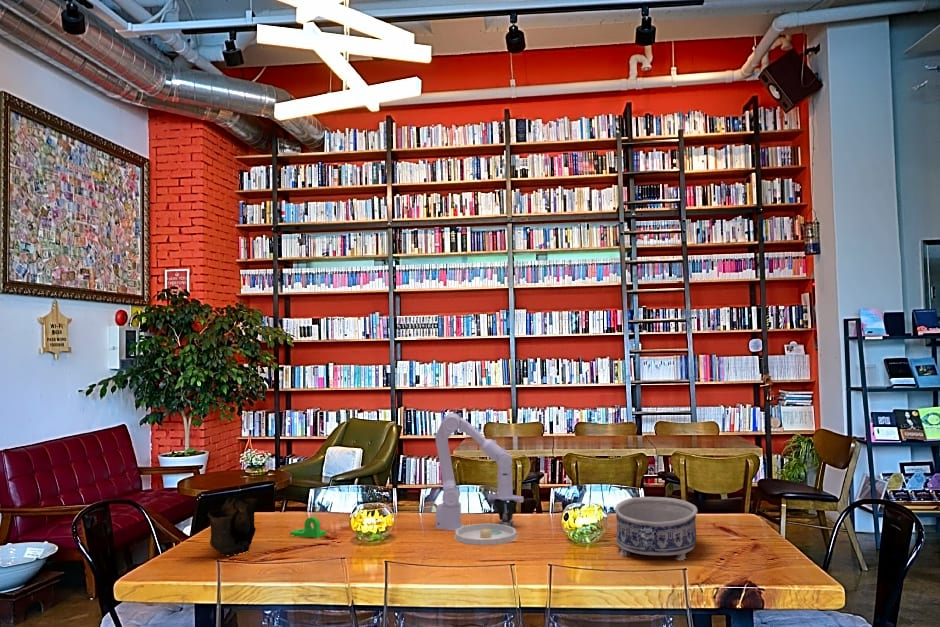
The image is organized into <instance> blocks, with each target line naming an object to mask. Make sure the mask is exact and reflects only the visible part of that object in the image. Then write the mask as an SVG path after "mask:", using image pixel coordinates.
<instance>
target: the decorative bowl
mask: <svg viewBox="0 0 940 627" xmlns="http://www.w3.org/2000/svg"><path fill="white" fill-rule="evenodd" d="M698 511H699V510H698V507H697V506H696V505H695V504H693V503H691V502H689V501H687V500H684V499H678V498H673V497H663V496H662V497H661V496H638V497H637V496H636V497H630V498H627V499H624V500H622V501H620V502H619V503H617V504H616V506H615V509H614V512H615V513H616V515H615V517H616V518H615V519H616V532H615V535H616V536H615V537H616V538H615V539H616V544H617V545H618V547H619V548H620V551H619V555H620V556H623V557H624V556H625V557H627V556H630V555H631V553H634V554H638V555H639V554H640V555H645V556H646V555H647V556H676V557H675V560H676V559H678V560H677V561H681V560H683V561H685V560H684V559H686V560H687V558H686V554H688V553H689V552H691V551H692V550H694V548H695V546H696V541H697V528H696V527H697V526H696V518H697V517H696V516H697V515H698V514H697V513H698Z"/></svg>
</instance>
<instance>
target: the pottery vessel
mask: <svg viewBox="0 0 940 627" xmlns="http://www.w3.org/2000/svg"><path fill="white" fill-rule="evenodd" d="M258 501H259V498H255V497H249V498H243V499H242V498H240V497H238V496H237V497H233V496H229V497H228V498H227V499H226V501H225V502H224V504H223V505H222V507H218V508H213V509H211V510H209V511H208V513H207V517H209V523H210V539H209V542H210V543H209V544H210V547H211V548H213V549H214V550H216V551H217V552H218V553H221V554H223V555H232V554H239V553H243V552H246V551H248V552H249V548H250V546H251V545H252V542H253V541H252V540H253V539H254V536H255V533H256V530H257V529H256V526H255V512H256V510H257V505H258ZM232 556H233V555H232Z"/></svg>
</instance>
